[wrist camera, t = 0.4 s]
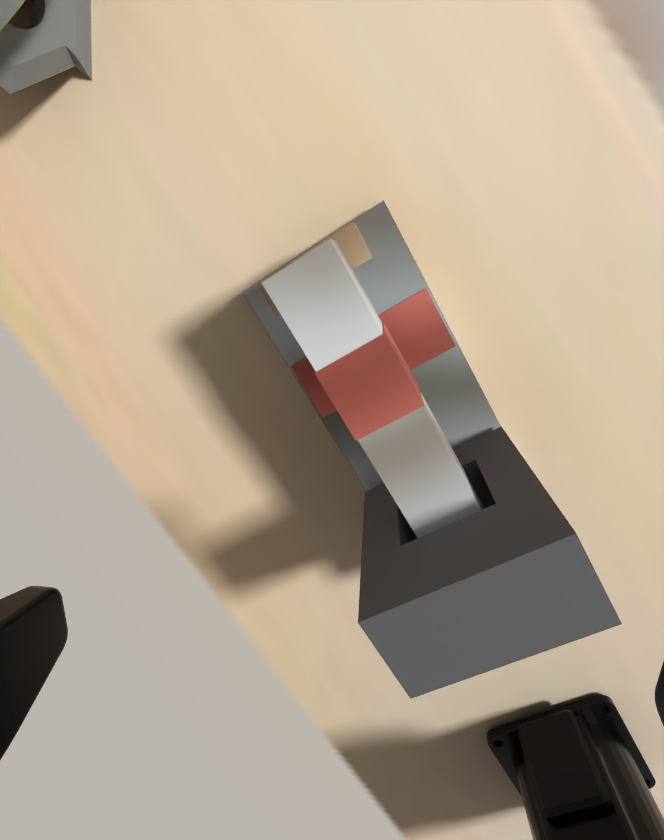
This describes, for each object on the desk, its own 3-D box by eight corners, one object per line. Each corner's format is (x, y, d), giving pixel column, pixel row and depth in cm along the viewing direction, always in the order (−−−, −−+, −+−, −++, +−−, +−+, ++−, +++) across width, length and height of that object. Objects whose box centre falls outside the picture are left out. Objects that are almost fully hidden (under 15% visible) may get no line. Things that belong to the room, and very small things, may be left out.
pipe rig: (541, 507, 21) (595, 592, 15) (416, 561, 22) (427, 655, 17) (383, 202, 17) (385, 182, 12) (247, 290, 19) (197, 305, 14)
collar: (533, 488, 19) (621, 624, 12) (399, 547, 21) (410, 698, 14) (501, 426, 18) (576, 533, 11) (365, 492, 20) (358, 622, 13)
